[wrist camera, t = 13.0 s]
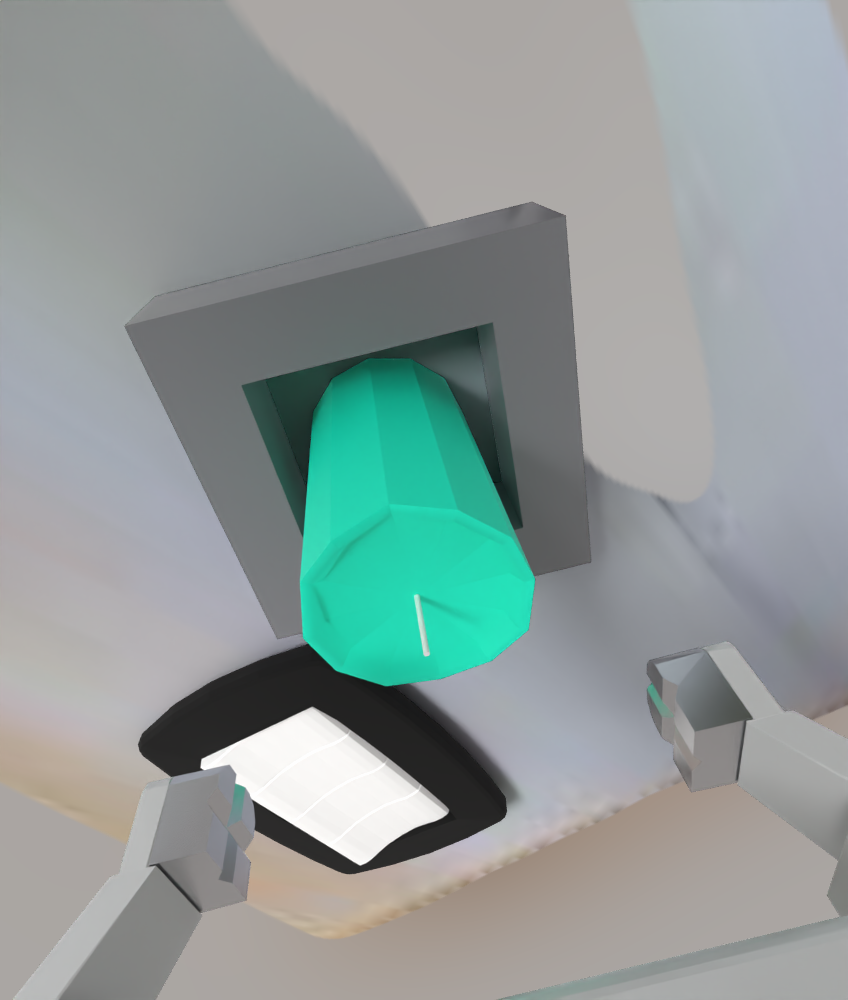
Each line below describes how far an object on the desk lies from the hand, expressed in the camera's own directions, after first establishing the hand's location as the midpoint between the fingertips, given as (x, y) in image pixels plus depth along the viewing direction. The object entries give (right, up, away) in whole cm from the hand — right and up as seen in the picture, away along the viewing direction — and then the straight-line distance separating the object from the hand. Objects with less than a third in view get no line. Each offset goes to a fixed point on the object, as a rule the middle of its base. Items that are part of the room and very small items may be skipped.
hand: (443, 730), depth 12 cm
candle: (-2, +7, +13) cm, 15 cm away
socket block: (-2, +8, +12) cm, 14 cm away
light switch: (-5, -11, +24) cm, 26 cm away
